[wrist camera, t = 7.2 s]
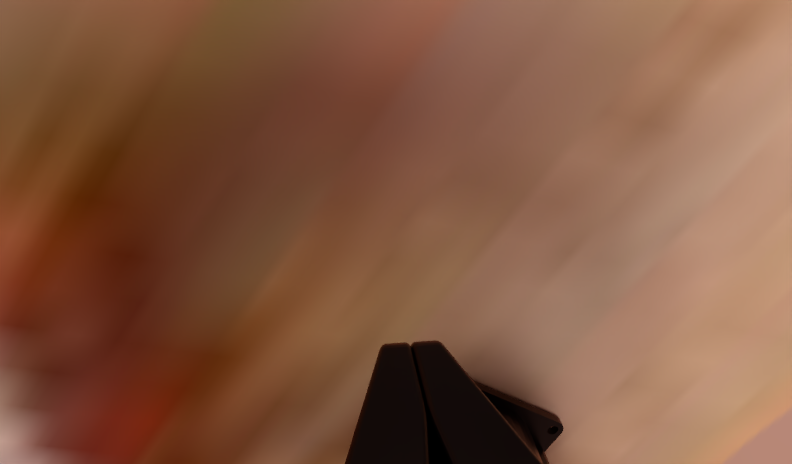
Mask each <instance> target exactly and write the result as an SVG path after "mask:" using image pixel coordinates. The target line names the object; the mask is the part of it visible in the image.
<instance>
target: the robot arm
mask: <svg viewBox="0 0 792 464" xmlns="http://www.w3.org/2000/svg"><path fill="white" fill-rule="evenodd" d="M552 426H553V427H552ZM550 427H551V428H550ZM562 431H563V425H562V423H561V421H560V419H559V418H558V417H556V416H554V415H552V414H549V413H547V412H545V411H542V410H540V409H538V408H535V407H533V406H531V405H528V404H526V403H524V402H521V401H519V400H517V399H514V398H512V397H509V396H507V395H505V394H502V393H500V392H498V391H495V390H493V389H491V388H488V387H486V386H484V385H481V384H479V383H477V382H474V381H473V380H472V379H471V378H470V376H469V375H468V374H467V373H466V372H465V371H464V369H463V368H462V367H461V366H460V365H459V363H458V362H457V361H456V360H455V359H454V357H453V356H452V355H451V354H450V353H449V351H448V350H447V349H446V348H445V347H444V345H443V344H442V343H441V342H439V341H421V342H414V343H413V344H412V345H411V346H410V345H409V344H408V343H392V344H384V345H382V347H381V348H380V351H379V354H378V357H377V361H376V364H375V367H374V370H373V374H372V377H371V380H370V383H369V387H368V390H367V393H366V397H365V400H364V403H363V406H362V410H361V413H360V416H359V419H358V423H357V426H356V429H355V432H354V436H353V439H352V442H351V445H350V449H349V452H348V455H347V459H346V462H345V464H549V462H548V460H547V457H546V455H545V453H544V452H545V451H546V449H547V448H548V447H549V446H550V445H551V444H552V443H553V442H554V441H555V440H556V439H557V437H558V436H559V435H560V434H561V433H562Z"/></svg>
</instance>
